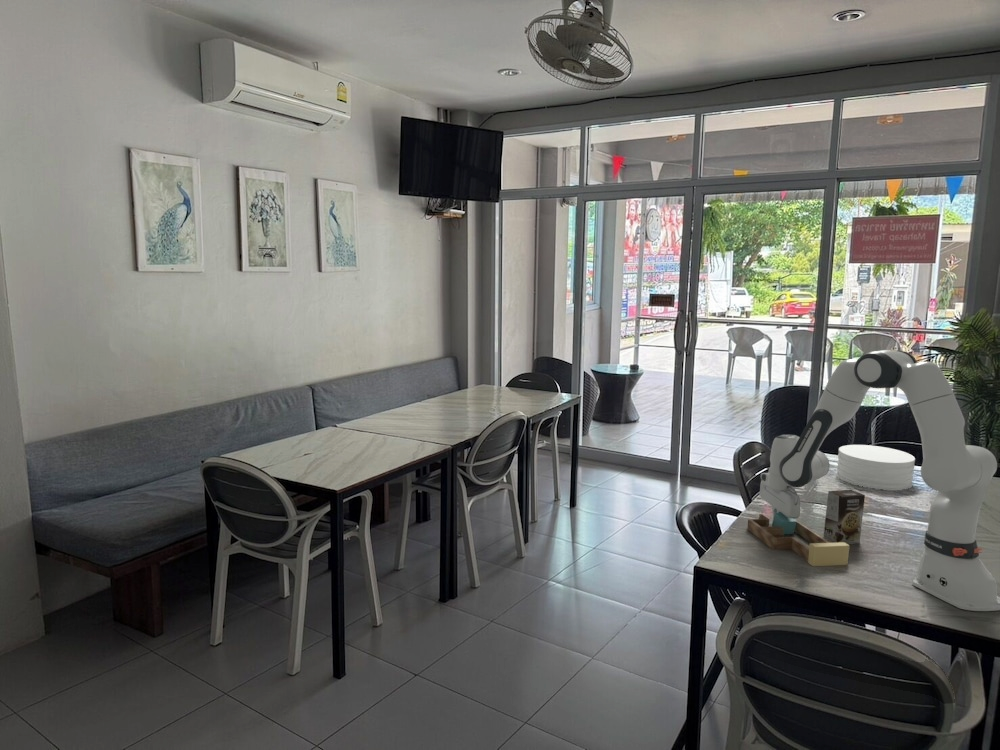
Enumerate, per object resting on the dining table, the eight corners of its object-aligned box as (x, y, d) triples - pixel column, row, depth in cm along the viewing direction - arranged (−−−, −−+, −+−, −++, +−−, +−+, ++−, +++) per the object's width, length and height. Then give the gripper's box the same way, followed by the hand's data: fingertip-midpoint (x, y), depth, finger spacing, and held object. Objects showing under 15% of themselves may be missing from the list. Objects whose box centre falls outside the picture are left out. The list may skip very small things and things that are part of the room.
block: (793, 533, 229) (796, 521, 227) (779, 534, 228) (782, 521, 226) (785, 524, 234) (789, 512, 231) (771, 525, 233) (775, 512, 231)
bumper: (847, 564, 206) (849, 545, 205) (812, 566, 204) (814, 546, 203) (842, 561, 208) (844, 542, 207) (807, 562, 207) (809, 543, 206)
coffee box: (836, 546, 220) (841, 496, 217) (822, 538, 226) (827, 490, 223) (860, 543, 222) (866, 494, 220) (845, 535, 228) (850, 488, 226)
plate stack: (821, 472, 300) (823, 446, 298) (873, 468, 308) (875, 443, 306) (873, 493, 274) (876, 464, 272) (928, 487, 282) (931, 460, 280)
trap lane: (840, 561, 208) (841, 550, 207) (790, 563, 206) (791, 552, 205) (786, 523, 238) (786, 513, 238) (741, 524, 236) (742, 514, 236)
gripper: (807, 492, 222) (802, 533, 224) (775, 472, 242) (771, 509, 244) (789, 492, 221) (784, 533, 224) (758, 472, 241) (754, 510, 244)
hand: (777, 521), depth 234 cm, fingers closed
